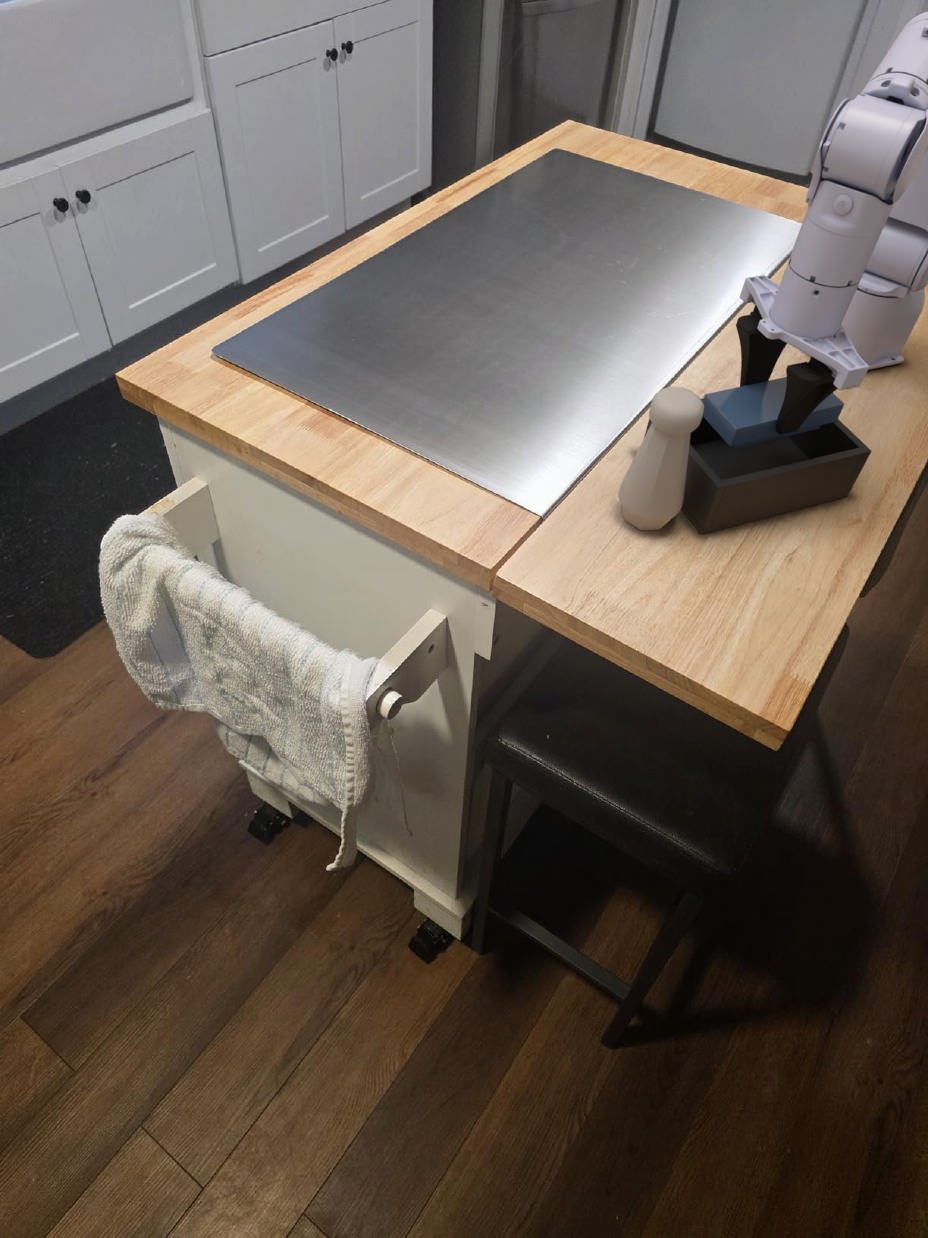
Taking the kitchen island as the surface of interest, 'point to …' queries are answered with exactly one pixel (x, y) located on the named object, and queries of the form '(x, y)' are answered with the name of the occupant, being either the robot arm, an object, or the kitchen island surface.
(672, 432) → the salt shaker
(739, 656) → the kitchen island surface
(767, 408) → the blue block in tray
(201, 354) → the kitchen island surface
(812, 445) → the tub
